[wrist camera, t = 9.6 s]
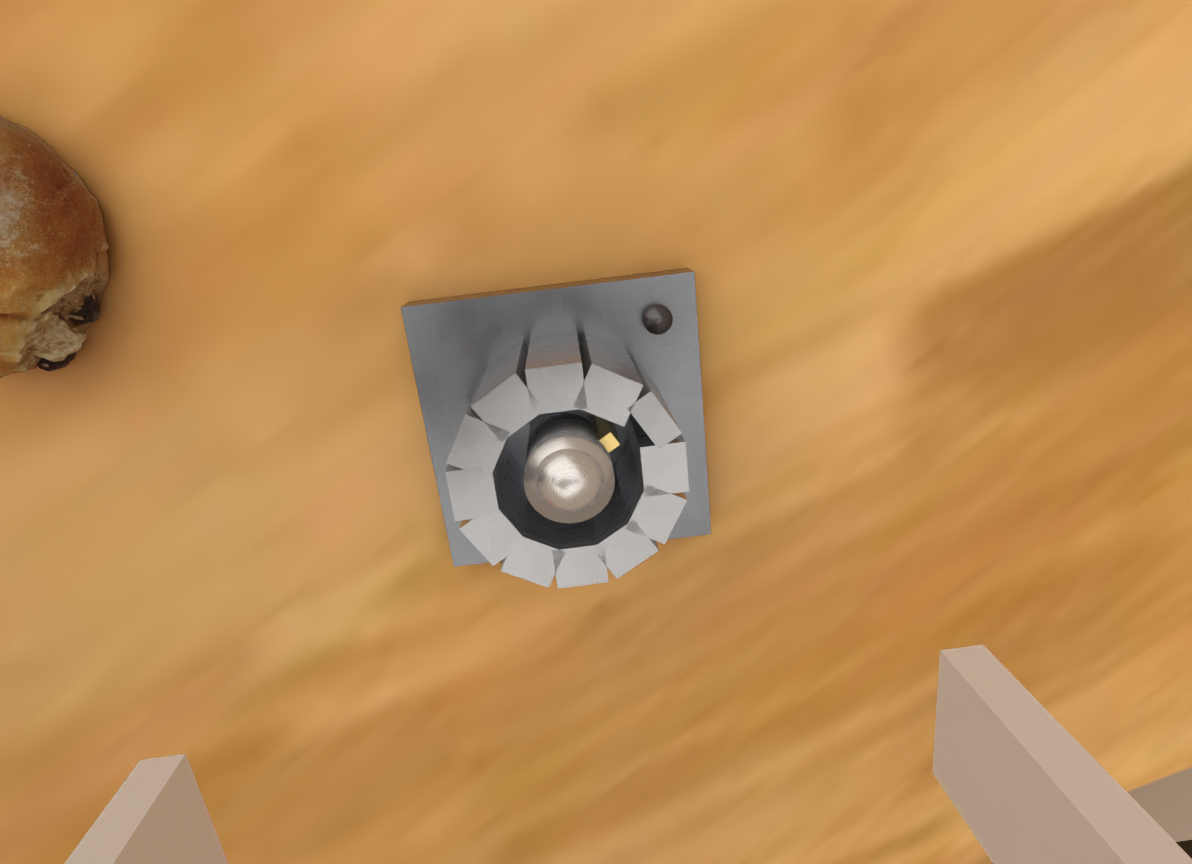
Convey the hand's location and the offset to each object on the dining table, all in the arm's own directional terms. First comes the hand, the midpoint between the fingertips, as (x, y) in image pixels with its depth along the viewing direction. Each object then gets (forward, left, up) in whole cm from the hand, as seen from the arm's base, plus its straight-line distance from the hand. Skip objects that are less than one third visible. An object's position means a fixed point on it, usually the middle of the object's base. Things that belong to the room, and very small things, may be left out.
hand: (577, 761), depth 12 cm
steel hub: (0, 0, -19) cm, 19 cm away
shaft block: (0, 0, -20) cm, 20 cm away
